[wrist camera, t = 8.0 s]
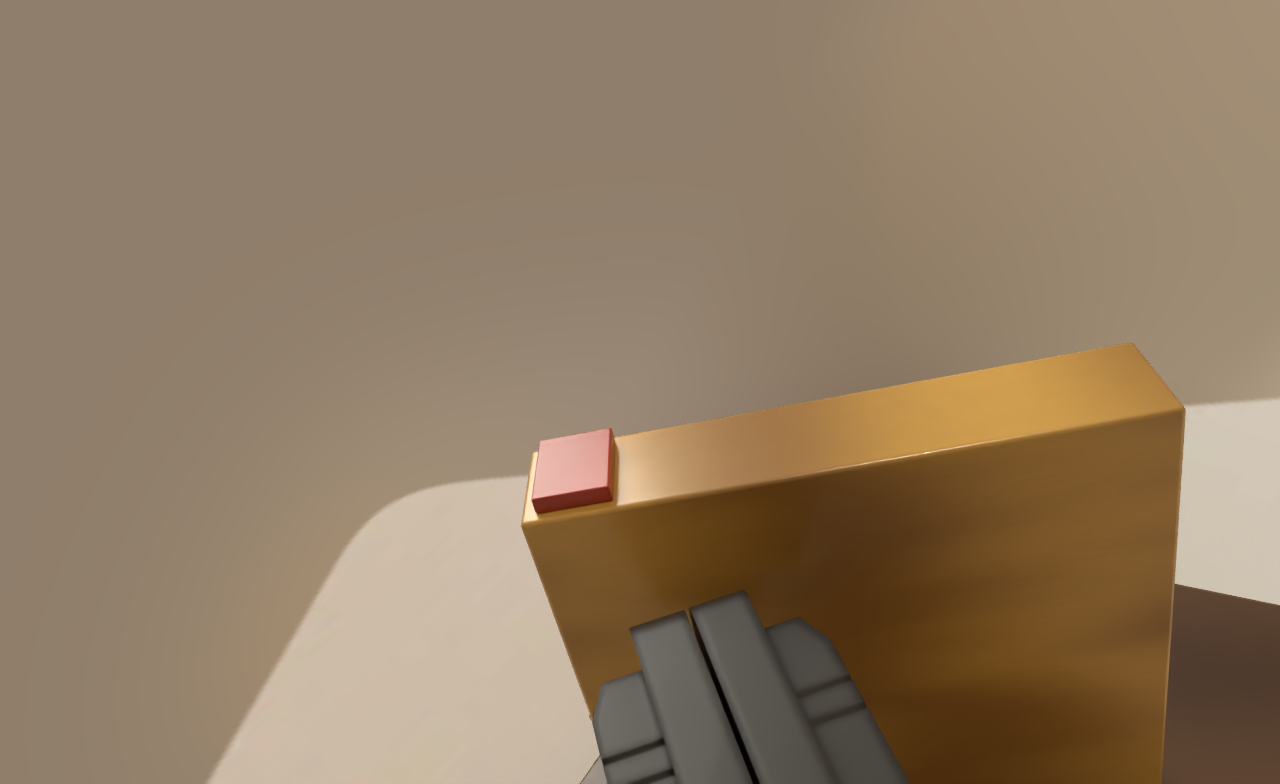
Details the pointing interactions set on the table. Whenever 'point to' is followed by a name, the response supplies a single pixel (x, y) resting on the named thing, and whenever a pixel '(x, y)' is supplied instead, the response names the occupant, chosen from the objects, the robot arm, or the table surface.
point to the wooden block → (907, 555)
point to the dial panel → (1210, 692)
